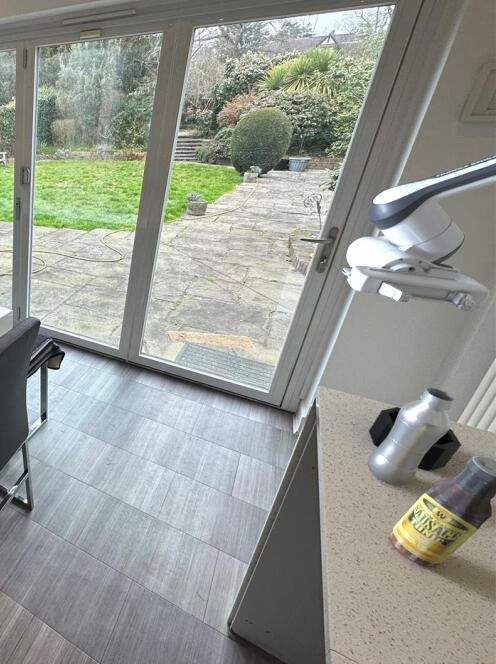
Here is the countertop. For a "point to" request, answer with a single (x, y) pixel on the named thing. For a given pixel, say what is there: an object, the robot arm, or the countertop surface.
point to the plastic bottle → (412, 437)
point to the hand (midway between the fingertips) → (436, 302)
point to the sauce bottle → (447, 514)
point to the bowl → (433, 457)
